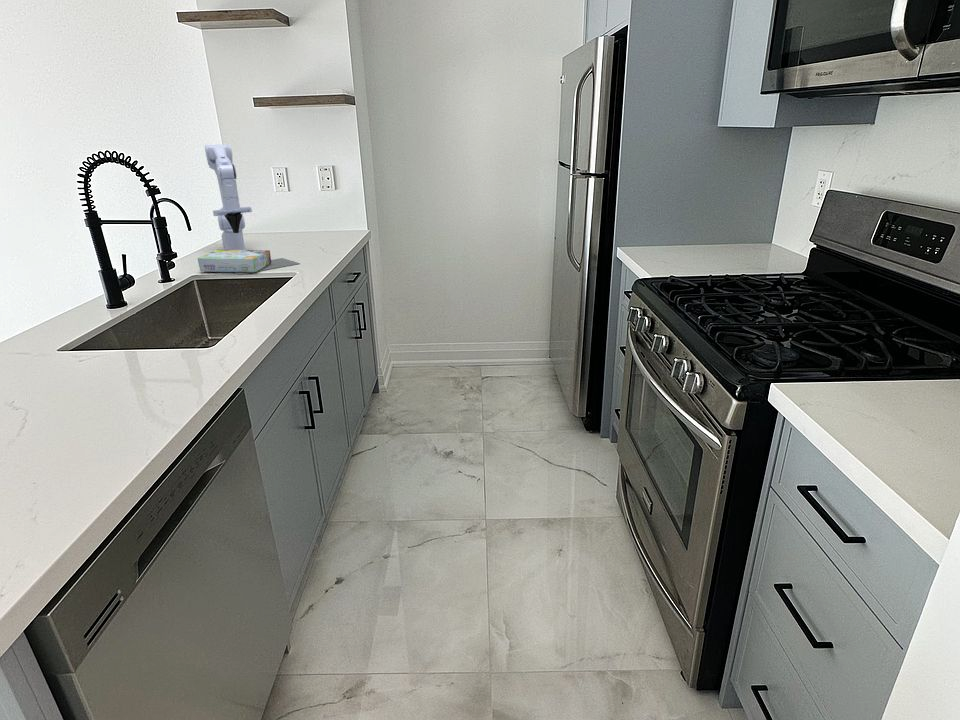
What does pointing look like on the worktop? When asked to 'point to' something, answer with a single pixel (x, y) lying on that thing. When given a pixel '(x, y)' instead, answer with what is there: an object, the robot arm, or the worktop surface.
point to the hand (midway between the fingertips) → (236, 232)
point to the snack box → (234, 260)
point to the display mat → (274, 265)
